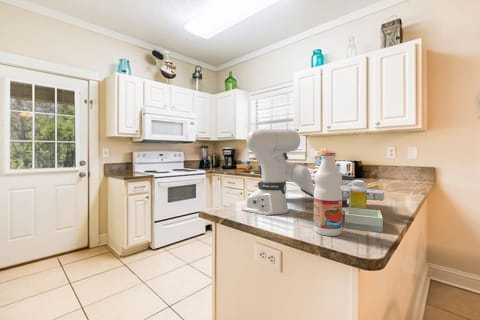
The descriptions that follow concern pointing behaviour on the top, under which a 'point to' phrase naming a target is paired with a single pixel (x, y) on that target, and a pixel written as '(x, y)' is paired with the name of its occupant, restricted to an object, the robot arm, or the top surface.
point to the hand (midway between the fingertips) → (357, 197)
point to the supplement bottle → (357, 195)
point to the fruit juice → (328, 197)
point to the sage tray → (363, 219)
